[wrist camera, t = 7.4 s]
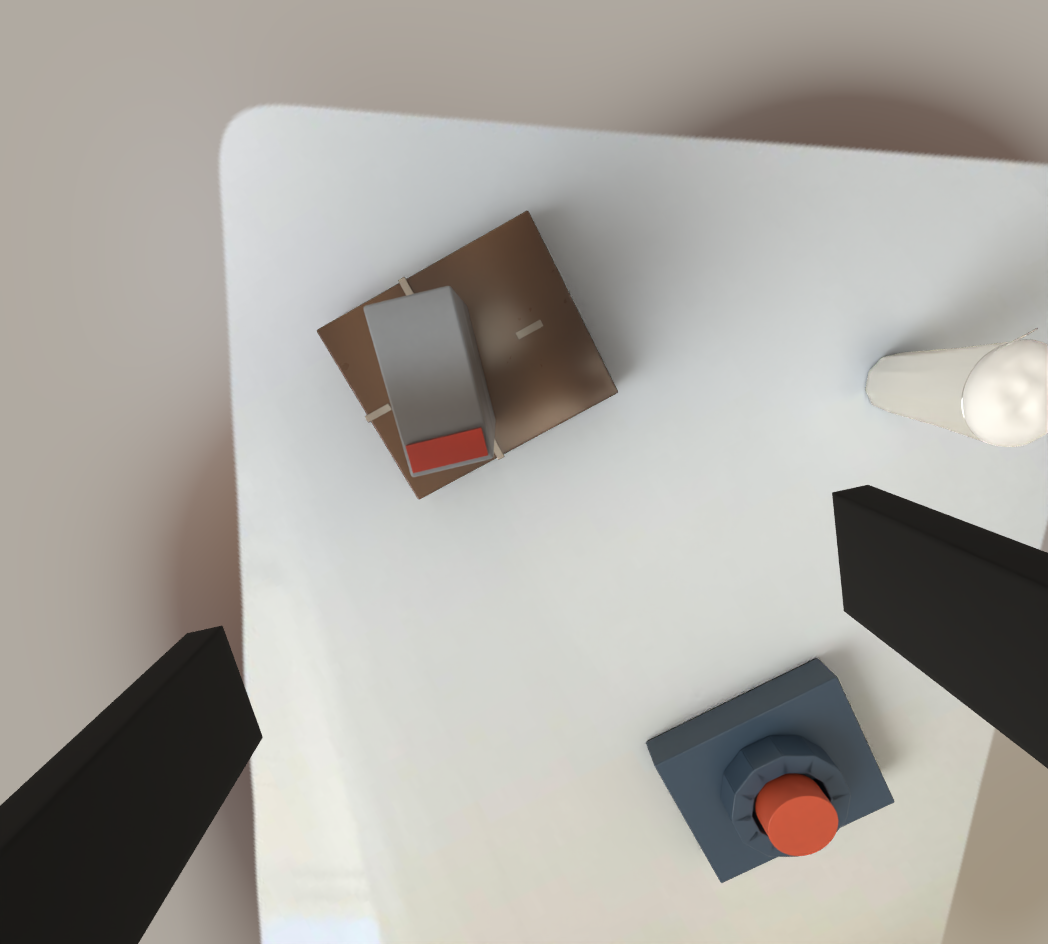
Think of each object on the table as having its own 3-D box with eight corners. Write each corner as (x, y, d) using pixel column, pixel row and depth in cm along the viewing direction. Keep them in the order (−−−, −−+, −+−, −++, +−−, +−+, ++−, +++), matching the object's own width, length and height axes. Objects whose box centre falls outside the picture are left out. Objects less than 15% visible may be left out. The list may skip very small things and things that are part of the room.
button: (806, 762, 34) (823, 784, 32) (831, 812, 34) (849, 837, 33) (744, 792, 34) (757, 815, 32) (770, 841, 35) (784, 867, 33)
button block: (817, 657, 36) (855, 694, 32) (873, 776, 38) (915, 826, 34) (645, 741, 37) (662, 788, 33) (709, 854, 39) (732, 911, 35)
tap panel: (525, 216, 30) (527, 206, 28) (612, 391, 32) (620, 394, 30) (324, 330, 31) (311, 329, 29) (422, 493, 33) (417, 503, 31)
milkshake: (907, 312, 32) (1088, 297, 22) (944, 395, 33) (1132, 417, 23) (833, 356, 32) (979, 361, 22) (872, 437, 33) (1027, 476, 23)
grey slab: (408, 319, 29) (360, 305, 19) (467, 305, 29) (449, 283, 19) (440, 435, 30) (410, 480, 20) (496, 421, 30) (494, 460, 20)
